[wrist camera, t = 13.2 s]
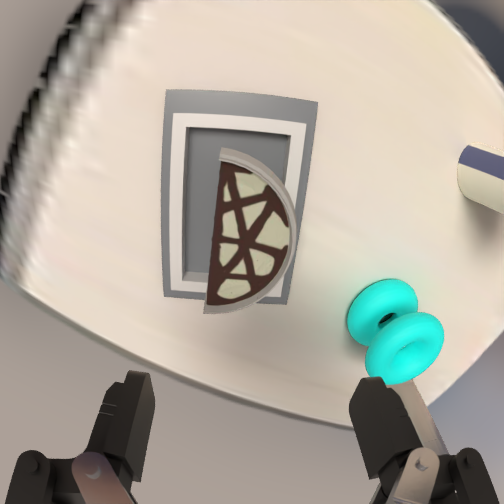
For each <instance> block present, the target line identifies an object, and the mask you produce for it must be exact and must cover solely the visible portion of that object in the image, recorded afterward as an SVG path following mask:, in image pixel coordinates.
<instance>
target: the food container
mask: <svg viewBox="0 0 504 504" xmlns="http://www.w3.org/2000/svg"><path fill="white" fill-rule="evenodd" d="M219 160H220V161H221V165H220V171H219V183H218V187H217V189H218V191H217V199H216V209H215V216H214V228H213V236H212V238H211V240H212V247H211V252H210V253H211V257H210V260H209V262H210V266H209V275H208V283H207V290H206V297H205V304H204V311H203V314H221V313H229V312H233V311H238V310H240V309H243V308H246V307H248V306H250V305H252V304H254V303H256V302H258V301H259V300H261V299H262V298H263V297H265V296H266V295H267V294H269V293H270V292H271V291H272V290H273V289H274V288H275V287H276V286H277V284H278V283H279V281H280V280H281V279H282V277H283V276H284V275H285V273H286V271H287V269H288V267H289V265H290V263H291V261H292V258H293V255H294V251H295V245H296V237H297V219H296V214H295V209H294V205H293V202H292V200H291V197H290V195H289V193H288V191H287V190H286V188H285V186H284V185H283V183H282V181H281V180H280V179H279V178H278V177H277V176H276V175H275V174H274V172H273V171H272V170H270V169H269V168H268V167H267V166H265V165H264V164H263V163H262V162H260V161H258V160H257V159H255V158H253V157H251V156H250V155H248V154H245V153H242V152H239V151H237V150H233V149H228V148H223V147H222V148H221V151H220V157H219Z"/></svg>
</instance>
